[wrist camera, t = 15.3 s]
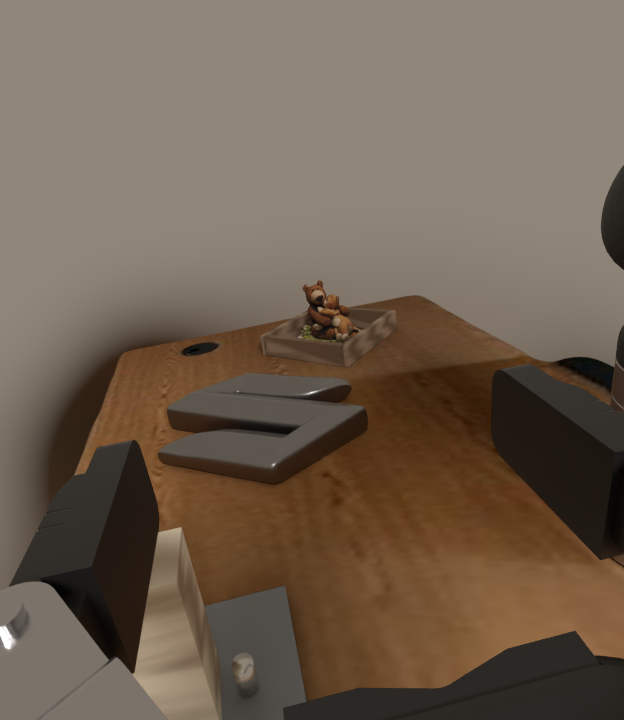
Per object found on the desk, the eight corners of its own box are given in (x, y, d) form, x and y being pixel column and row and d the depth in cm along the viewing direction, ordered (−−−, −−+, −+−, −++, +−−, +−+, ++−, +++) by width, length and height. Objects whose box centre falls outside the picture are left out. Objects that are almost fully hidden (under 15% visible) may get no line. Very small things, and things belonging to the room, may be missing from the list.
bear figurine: (310, 360, 92) (302, 298, 87) (293, 336, 106) (285, 281, 101) (378, 345, 95) (373, 284, 90) (352, 324, 108) (347, 270, 104)
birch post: (158, 681, 36) (107, 543, 31) (221, 664, 36) (181, 527, 31) (150, 750, 31) (90, 603, 26) (222, 730, 32) (176, 582, 27)
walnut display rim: (319, 321, 112) (316, 305, 111) (396, 328, 101) (395, 310, 100) (263, 355, 97) (260, 336, 95) (348, 367, 86) (345, 346, 85)
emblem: (138, 475, 54) (170, 376, 80) (150, 514, 56) (178, 405, 82) (384, 430, 56) (338, 348, 82) (387, 469, 58) (341, 376, 84)
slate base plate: (98, 644, 40) (84, 612, 39) (287, 595, 43) (280, 563, 41) (35, 912, 26) (10, 876, 24) (328, 817, 28) (320, 779, 27)
